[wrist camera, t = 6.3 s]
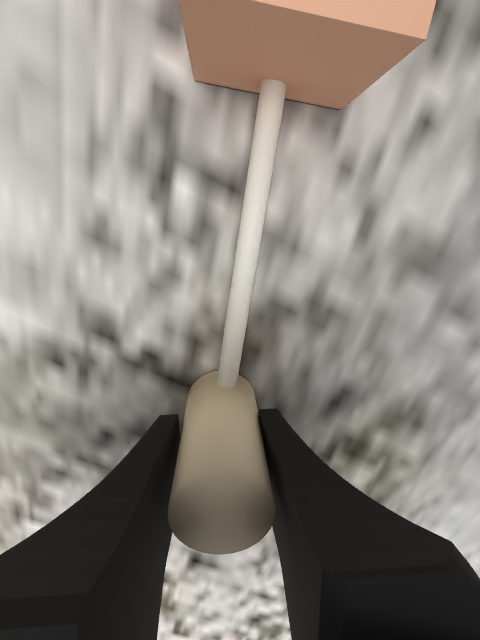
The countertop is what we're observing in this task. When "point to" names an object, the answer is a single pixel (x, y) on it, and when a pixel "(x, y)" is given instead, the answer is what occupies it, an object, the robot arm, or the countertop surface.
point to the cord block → (274, 87)
